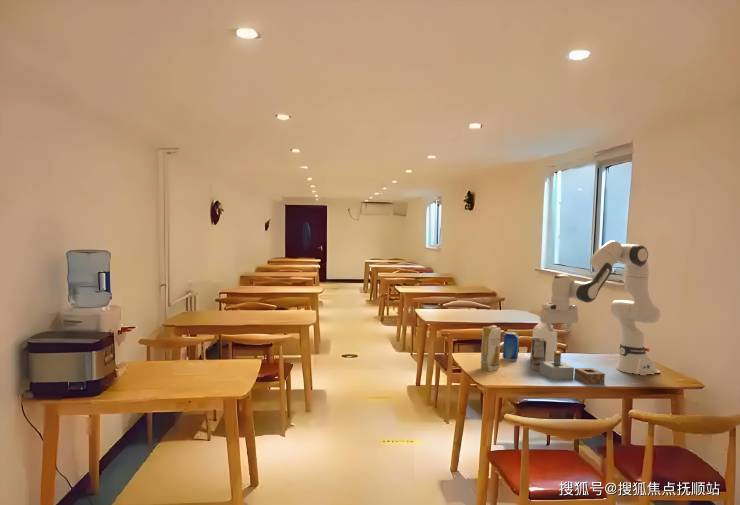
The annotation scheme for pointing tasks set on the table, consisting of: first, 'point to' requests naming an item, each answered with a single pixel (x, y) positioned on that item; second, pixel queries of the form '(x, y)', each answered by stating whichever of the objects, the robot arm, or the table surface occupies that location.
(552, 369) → the socket
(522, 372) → the table surface
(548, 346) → the milk
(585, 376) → the block
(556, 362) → the pin
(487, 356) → the juice carton
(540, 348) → the coffee box
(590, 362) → the table surface
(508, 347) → the beer can
